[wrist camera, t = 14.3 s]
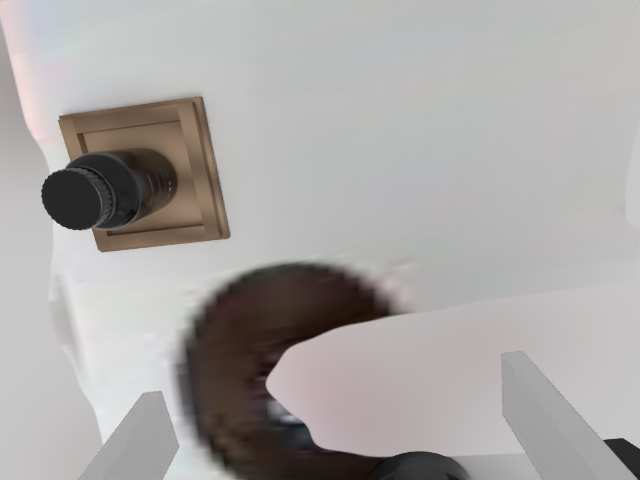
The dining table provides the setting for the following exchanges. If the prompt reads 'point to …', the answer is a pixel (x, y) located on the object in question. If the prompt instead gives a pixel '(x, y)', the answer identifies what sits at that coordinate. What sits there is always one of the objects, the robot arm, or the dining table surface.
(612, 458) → the robot arm
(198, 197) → the walnut tray
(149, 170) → the supplement bottle
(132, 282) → the dining table surface
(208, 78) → the dining table surface
